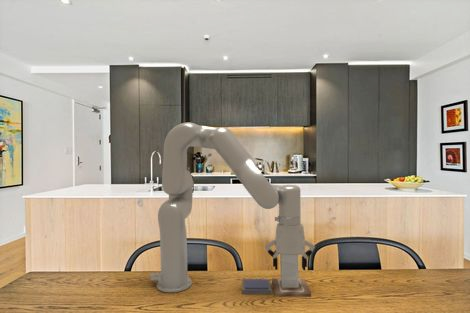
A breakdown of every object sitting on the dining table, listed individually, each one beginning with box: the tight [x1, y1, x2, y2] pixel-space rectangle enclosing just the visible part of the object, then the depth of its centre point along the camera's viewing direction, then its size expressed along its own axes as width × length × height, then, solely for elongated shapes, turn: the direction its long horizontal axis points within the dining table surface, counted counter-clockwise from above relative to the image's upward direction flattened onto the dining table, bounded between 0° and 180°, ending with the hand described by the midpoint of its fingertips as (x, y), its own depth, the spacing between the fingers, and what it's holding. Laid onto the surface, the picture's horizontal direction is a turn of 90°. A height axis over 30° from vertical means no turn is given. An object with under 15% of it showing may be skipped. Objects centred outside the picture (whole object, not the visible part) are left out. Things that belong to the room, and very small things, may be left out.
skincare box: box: [279, 254, 300, 288], centre depth 110 cm, size 6×4×12 cm
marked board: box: [271, 278, 312, 298], centre depth 110 cm, size 12×12×1 cm
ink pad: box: [241, 278, 273, 295], centre depth 111 cm, size 10×9×2 cm
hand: (289, 268), depth 110 cm, fingers open, 9 cm apart
